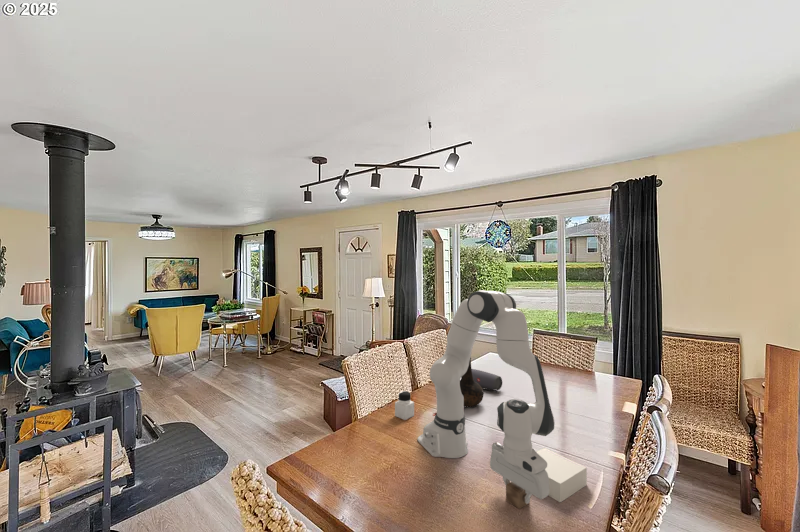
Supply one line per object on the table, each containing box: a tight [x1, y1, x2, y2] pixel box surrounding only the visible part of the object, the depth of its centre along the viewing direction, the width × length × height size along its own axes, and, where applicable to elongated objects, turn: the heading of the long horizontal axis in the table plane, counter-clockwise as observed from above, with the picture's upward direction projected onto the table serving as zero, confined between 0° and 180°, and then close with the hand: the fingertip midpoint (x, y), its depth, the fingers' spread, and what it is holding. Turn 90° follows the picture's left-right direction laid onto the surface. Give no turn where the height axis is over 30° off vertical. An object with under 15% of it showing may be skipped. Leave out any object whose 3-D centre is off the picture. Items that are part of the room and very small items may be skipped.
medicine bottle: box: [394, 390, 415, 421], centre depth 176 cm, size 7×7×12 cm
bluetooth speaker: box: [471, 368, 503, 391], centre depth 218 cm, size 23×9×10 cm, turn 42°
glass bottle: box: [460, 356, 485, 408], centre depth 191 cm, size 18×18×28 cm
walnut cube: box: [505, 481, 528, 510], centre depth 111 cm, size 5×5×5 cm
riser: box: [536, 447, 588, 503], centre depth 122 cm, size 16×16×6 cm
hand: (517, 496), depth 111 cm, fingers closed on walnut cube, 5 cm apart
